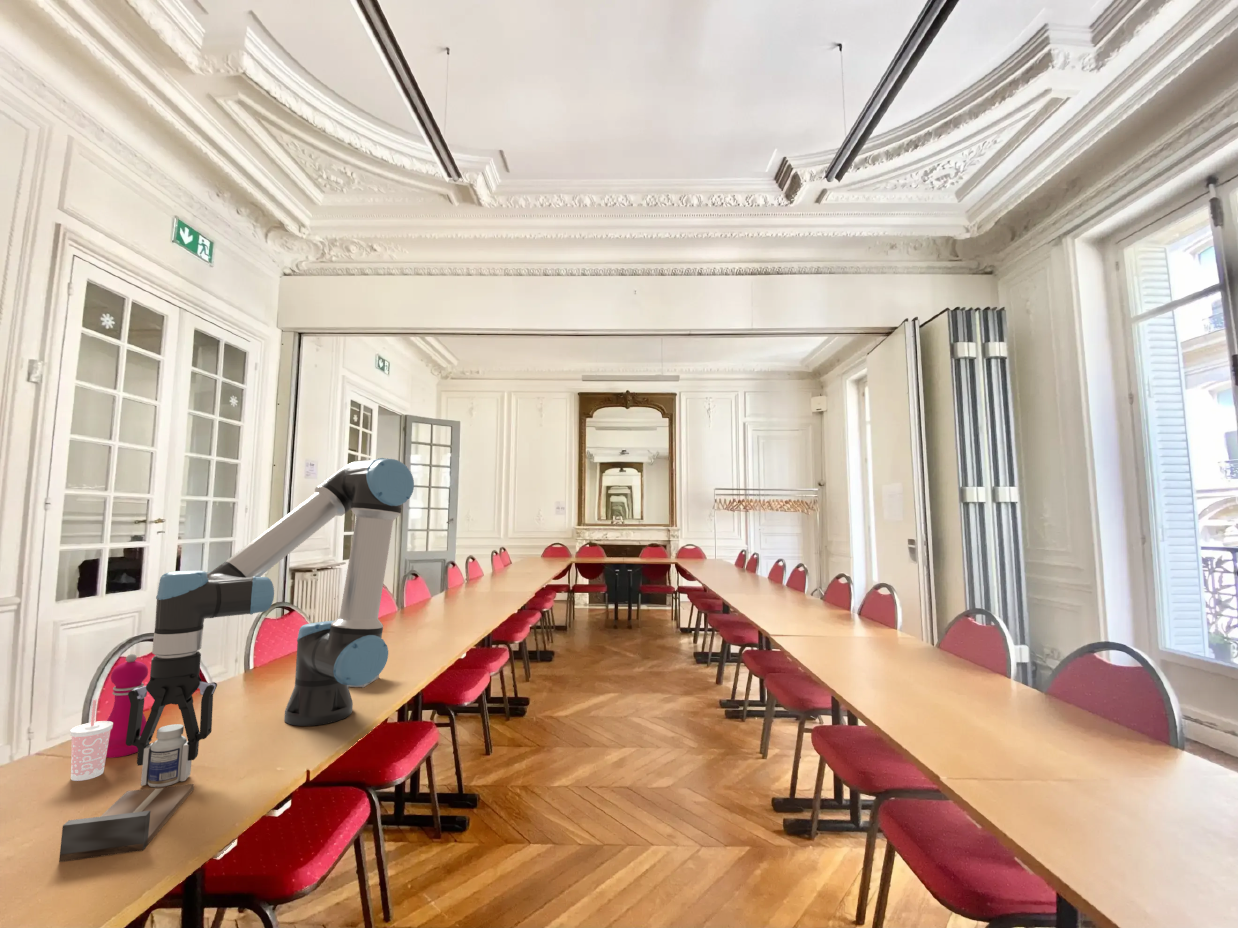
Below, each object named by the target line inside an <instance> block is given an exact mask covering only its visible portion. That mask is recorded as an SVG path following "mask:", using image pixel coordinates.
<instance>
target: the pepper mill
mask: <svg viewBox="0 0 1238 928" xmlns="http://www.w3.org/2000/svg"><path fill="white" fill-rule="evenodd" d="M137 658H138V657H137V655H136V654H135V653H130V654H128V655H127V656H125V661H124V662H121V663H120V664H118V665H116V667H114V668H113V670H112V672H111V675H110V681H111V683H112V684H113V685H114V687H113V688H112V691H113V692H112V695H113V696H114V703H113V708H112V709H111V712H110V714H109V716H108V718H107V719H106V721H111V722H113V727H112V729H111V730H110V736H109V742H108V748H107V754H106V758H109V759H113V758H121V757H125V756H129V755H133V754H135V753H138V748H137V747H136V746H133V745H131V746H127V745H126V737H127V729H128V721H129V714H130V706H131V703H130V700H129V696H128V693H129V692H130V691H132V690H133V689H135V688H137V687H143V686H145V684H144V683H143V682H144V681H145V679H146V678H147V677H148V674H149V669H148V666H147V664H146V663H144V662H142V661H139V660H137ZM146 718H147V717H146V716H145V714H144V713H143V716H142V724H141V731H140V736H141V735H142V732H143V730H144V727H145V725H146V722H147V719H146Z"/></svg>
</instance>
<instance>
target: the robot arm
mask: <svg viewBox="0 0 1238 928" xmlns="http://www.w3.org/2000/svg"><path fill="white" fill-rule="evenodd" d="M414 487H415V481H414V476H413V473H412V472H411V470H410V469H409V467H408V466H407V465H406V464H405V463H404V462H402V461H401V460H398V459H395V458H385V457H379V458H375V459H361V460H360V459H359V460H358V459H357V460H355V461H352V462H350V463H348V464H346V465H344V466H342V467H341V468H340V469H338V470H337V471H336V472H334V473H333V474H331V475H330V476H329V477H328V478H326V479H325V480H324V481H322V482H321V483H319V484H318V485H317V486H315V488H314V493H313V494H312V495H311V496H309V497H308V498H307V499H305V500H304V501H303V502H302V503H300V504H299V505H298V506H296V507H295V508H294V509H292V510H291V511H290V512H289V513H287V514H286V515H284V516H283V517H281V519H279V520H278V521H277V522H275V523H273V525H271V526H270V527H268V529H266V530H265V531H264V532H262V533H261V534H259V535H258V536H257V537H255V538H254V539H253V540H251V541H250V542H249V543H247V544H246V545H245V546H243V548H241V549H239V550H238V551H237V552H236V553H235V554H233V555H232V556H230V557H229V558H228V559H227V560H225V561H224V562H222V563H221V564H219V565H218V566H217V567H216V568H214V569H213V570H210V571H206V570H175V571H168V572H165V573H163V574H162V575H161V576H160V578H159V582H158V588H157V594H156V597H155V599H156V607H155V622H154V623H155V624H154V632H153V641H152V650H151V654H153V655H154V656H153V657H152V658H151V661H150V673H149V674H150V675H149V680H148V682H147V683H146V685H144V686H143V687H137V688H135V689H133V690H132V691H130V692H129V693H128V696H129V700H130V703H131V706H130V714H129V721H128V729H127V737H126V745H127V746H131V745H133V746H136V747H137V748H138V752H137V757H136V765H137V766H142V769H141V779H140V781H141V782H140V786H141V787H142V786H146V785H148V775H149V763H150V751H151V745H152V744H153V743H154V742H152V740H153V736H154V734H155V731H156V729H157V726H158V724H159V721H160V718H161V716H162V714H163V711H164V709H165V707H166V706H167V705H175V706H178V709H179V710H180V713H181V717H182V721H183V726H184V730H185V733H186V739H187V742H186V743H185V744H184V745H183V752H182V764H181V776H180V781H179V782H185V781H186V780H187V779H188V778H189V777H190V776H191V773H192V761H194V760H195V759H196V758H197V756H198V755H199V746H200V741H201V740H205V739H207V738H208V737H209V736H210V734H211V733H212V730H213V729H212V728H213V727H212V726H213V707H214V694H215V691H216V689H217V687H218V684H217V682H216V681H213V682H207V681H206V682H205V681H202V678H201V675H200V672H201V671H200V670H201V657H202V653H201V652H200V650H201V649H202V644H203V636H204V635H203V634H204V632H203V631H204V622H205V619H214V618H224V617H232V616H233V617H234V616H241V615H242V616H243V615H252V616H253V614H258V613H264V612H267V611H269V609H270V608H271V607H272V604H273V602H274V599H275V598H274V597H275V587H274V584H273V581H272V580H271V578H269V577H267V576H263V575H265V574H266V573H267V572H268V571H269V570H271V569H272V568H273V567H274V566H275V565H277V564H278V563H280V561H282V560H283V559H284V558H285V557H287V556H288V555H289V554H290V553H291V552H293V551H294V550H295V549H296V548H298V547H299V546H300V545H302V544H303V543H304V542H305V541H306V540H308V539H309V538H311V537H312V536H313V535H314V534H315V533H316V532H317V531H319V530H320V529H321V528H323V527H324V526H325V525H326V524H327V523H329V522H330V521H331V520H333V518H335V517H336V516H337V517H339V516H344V515H345V514H347V512H349V511H350V510H351V511H352V513H353V514H354V515H355V524H354V529H353V533H352V540H351V545H350V552H349V559H348V565H347V568H346V569H347V572H346V577H345V583H344V588H343V593H342V600H341V605H340V611H339V612H340V613H339V616H338V617H337V618H336V619H335V620H327V621H325V620H324V621H317V622H311V623H306V624H303V625H301V627H300V628H299V630H298V634H297V638H296V641H297V645H296V659H295V660H296V662H295V676H294V677H295V678H294V688H293V690H292V692H291V694H290V697H289V699H288V701H287V704H286V707H285V710H284V717H283V719H284V723H286V724H288V725H291V726H292V725H293V726H297V727H301V726H302V727H309V726H312V727H313V726H319V725H327V724H330V723H331V724H332V723H334V722H335V723H336V722H338V721H341V720H344V719H345V718H347V717H349V716H350V715H351V714H352V713H353V706H354V705H353V704H354V702H353V699H352V696H351V692H350V687H348V685H352V686H360V685H364V684H367V683H369V682H371V681H372V680H374V679H375V677H376V676H377V675H379V676H380V674H381V673H382V672H383V670H384V669H385V667H386V665H387V662H388V658H389V648H388V645H387V644H386V642H385V640H384V639H383V638H382V636H383V632H384V631H383V630H384V625H383V623H382V622H381V621H380V619H379V612H380V607H381V600H382V595H383V587H384V582H385V575H386V568H387V564H388V563H387V561H388V555H389V550H390V543H391V538H392V532H393V531H392V530H393V524H394V521H395V520H396V519H397V518H398V517H400V516H401V514H402V510H403V509H402V507H403V504H405V503H406V502H407V501H408V500H409V499H410V498H411V497H412V495H413V492H414V490H415V489H414ZM198 689H199V690H200V692H199V694H200V695H201V700H200V701H201V703H200V721H199V722H200V723H199V724H198V719H197V715H196V712H195V707H194V697H193V695H194V693H196V691H197V690H198ZM147 693H148V694H149V695H150V696H151V698H152V699H153V700H154V701H153V703H152V706H151V708H150V713H149V714H148V718H147V719H146V725H145V727H144V730H143V732H142V735H141V736H140V731H141V724H142V716H143V714H144V706H145V698H146V697H147Z"/></svg>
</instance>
